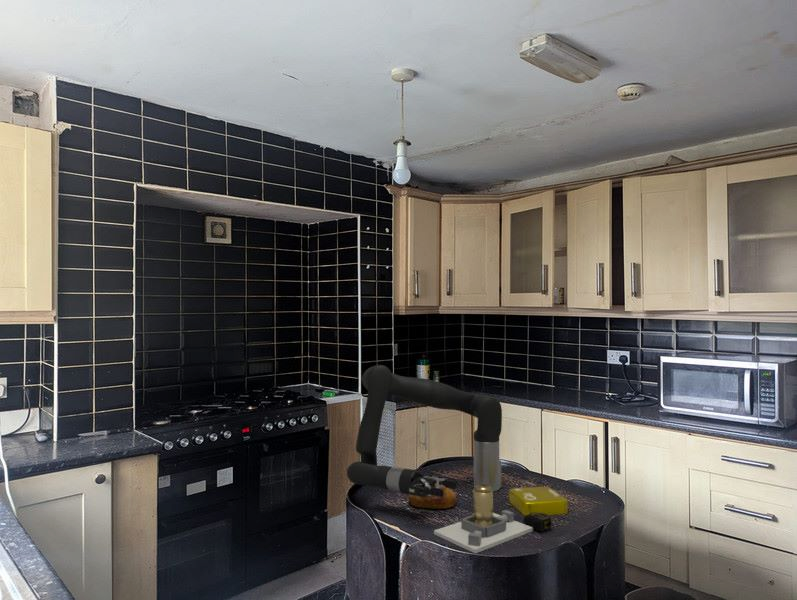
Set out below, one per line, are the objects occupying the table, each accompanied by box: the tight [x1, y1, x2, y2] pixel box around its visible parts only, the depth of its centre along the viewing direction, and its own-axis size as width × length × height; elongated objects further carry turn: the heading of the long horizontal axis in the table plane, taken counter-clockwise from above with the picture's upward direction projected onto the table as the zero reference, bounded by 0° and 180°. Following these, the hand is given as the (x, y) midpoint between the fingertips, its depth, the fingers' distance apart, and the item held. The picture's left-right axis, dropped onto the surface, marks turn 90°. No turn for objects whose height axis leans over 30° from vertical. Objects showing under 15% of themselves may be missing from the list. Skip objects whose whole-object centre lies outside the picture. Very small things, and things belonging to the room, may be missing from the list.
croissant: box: [407, 484, 458, 509], centre depth 178 cm, size 15×16×8 cm
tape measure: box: [523, 512, 552, 532], centre depth 157 cm, size 7×7×4 cm
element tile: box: [508, 486, 569, 516], centre depth 174 cm, size 15×15×5 cm
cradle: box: [433, 509, 534, 554], centre depth 153 cm, size 24×16×4 cm, turn 128°
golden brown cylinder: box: [472, 484, 494, 527], centre depth 153 cm, size 6×6×12 cm
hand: (450, 489), depth 159 cm, fingers open, 8 cm apart
